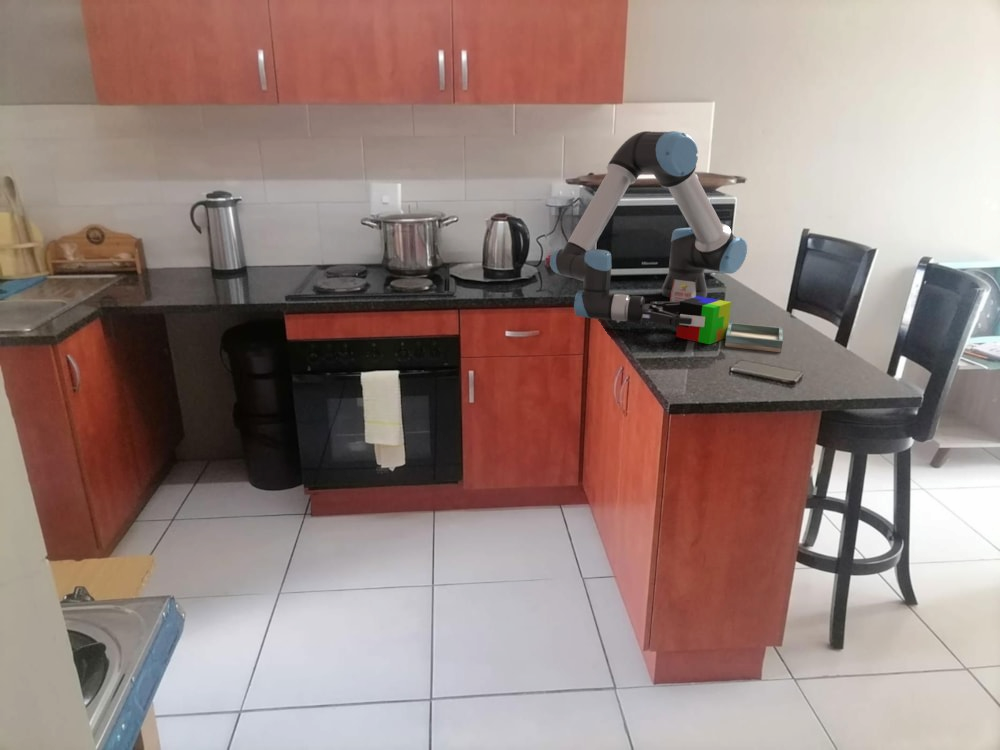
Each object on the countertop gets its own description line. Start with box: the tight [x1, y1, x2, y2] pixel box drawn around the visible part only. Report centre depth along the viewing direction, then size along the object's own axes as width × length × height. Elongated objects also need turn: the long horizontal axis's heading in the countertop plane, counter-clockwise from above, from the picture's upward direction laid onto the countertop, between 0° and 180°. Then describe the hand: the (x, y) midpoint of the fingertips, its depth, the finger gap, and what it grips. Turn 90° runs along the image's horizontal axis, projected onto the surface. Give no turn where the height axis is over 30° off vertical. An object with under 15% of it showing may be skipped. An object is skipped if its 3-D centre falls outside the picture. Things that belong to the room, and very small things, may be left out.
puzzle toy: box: [675, 296, 732, 345], centre depth 193 cm, size 10×10×10 cm
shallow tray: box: [724, 322, 784, 353], centre depth 190 cm, size 14×14×3 cm
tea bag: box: [669, 279, 696, 302], centre depth 219 cm, size 4×7×10 cm, turn 55°
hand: (707, 316), depth 193 cm, fingers closed on puzzle toy, 12 cm apart
